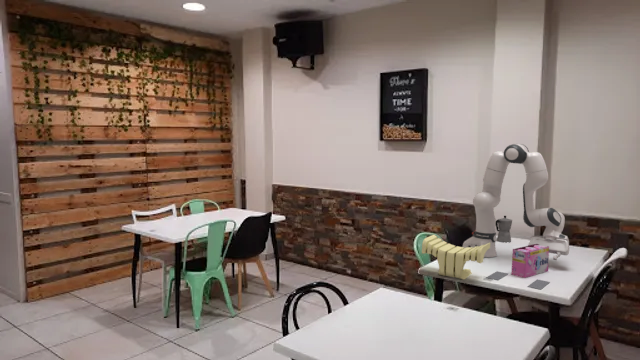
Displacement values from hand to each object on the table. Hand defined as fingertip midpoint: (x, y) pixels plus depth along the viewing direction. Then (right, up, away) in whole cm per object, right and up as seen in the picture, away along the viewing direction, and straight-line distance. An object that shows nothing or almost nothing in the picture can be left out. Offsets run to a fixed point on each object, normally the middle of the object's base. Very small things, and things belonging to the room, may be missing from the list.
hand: (545, 258), depth 243 cm
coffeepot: (+4, 0, +66) cm, 66 cm away
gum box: (-12, -7, -7) cm, 16 cm away
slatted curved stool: (-53, -7, -13) cm, 55 cm away
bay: (-24, -7, -20) cm, 33 cm away
